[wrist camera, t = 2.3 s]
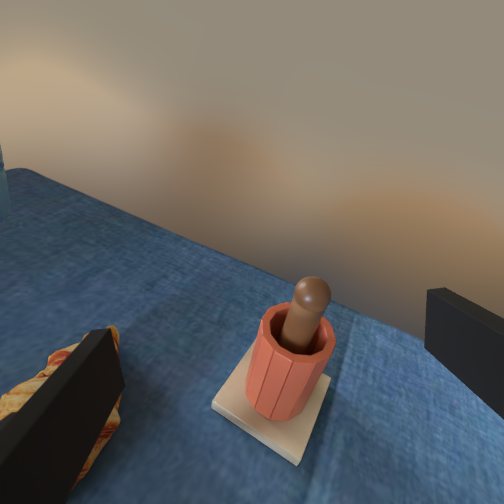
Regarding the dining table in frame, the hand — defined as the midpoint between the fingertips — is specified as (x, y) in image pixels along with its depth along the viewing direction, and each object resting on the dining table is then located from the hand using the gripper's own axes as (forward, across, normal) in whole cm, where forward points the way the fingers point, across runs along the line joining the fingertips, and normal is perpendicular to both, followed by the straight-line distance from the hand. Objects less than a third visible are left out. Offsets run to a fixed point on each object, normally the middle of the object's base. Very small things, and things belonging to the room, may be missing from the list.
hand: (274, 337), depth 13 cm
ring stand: (+18, +1, -18) cm, 25 cm away
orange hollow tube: (+17, +1, -16) cm, 24 cm away
